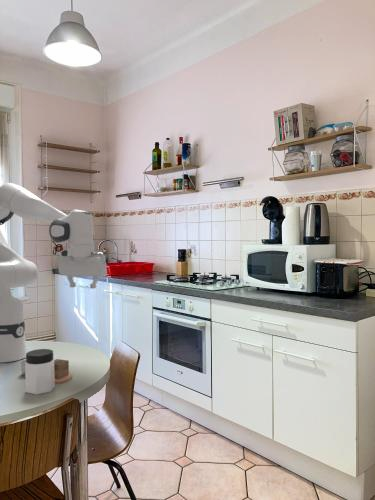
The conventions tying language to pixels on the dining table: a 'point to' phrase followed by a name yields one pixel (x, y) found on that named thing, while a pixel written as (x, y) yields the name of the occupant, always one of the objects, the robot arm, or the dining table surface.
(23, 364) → the tin
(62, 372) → the walnut block
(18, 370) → the dining table surface
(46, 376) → the jar
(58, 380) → the pink glossy round part
